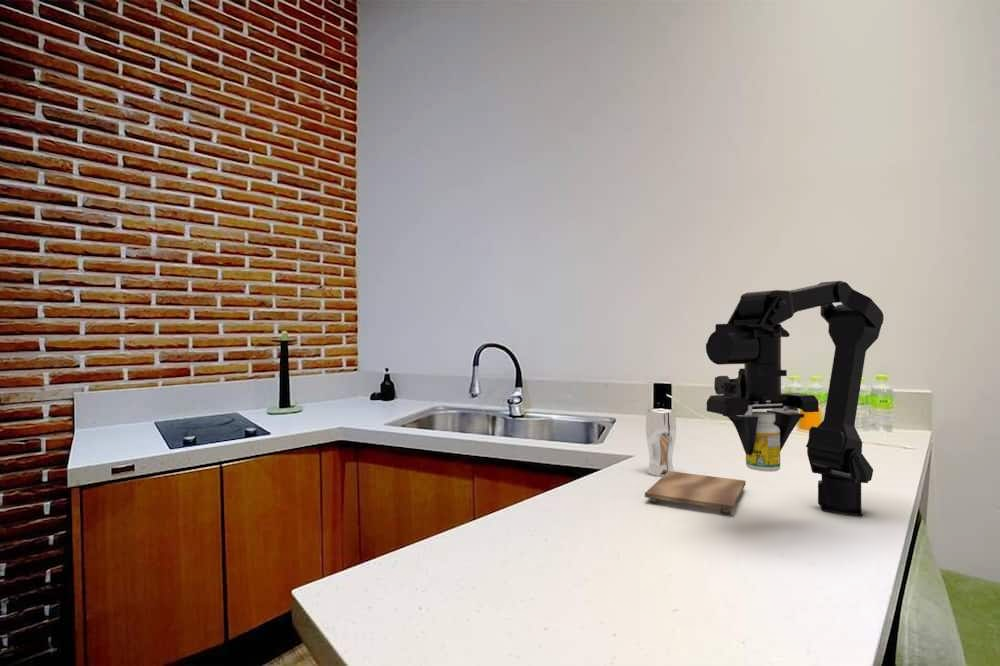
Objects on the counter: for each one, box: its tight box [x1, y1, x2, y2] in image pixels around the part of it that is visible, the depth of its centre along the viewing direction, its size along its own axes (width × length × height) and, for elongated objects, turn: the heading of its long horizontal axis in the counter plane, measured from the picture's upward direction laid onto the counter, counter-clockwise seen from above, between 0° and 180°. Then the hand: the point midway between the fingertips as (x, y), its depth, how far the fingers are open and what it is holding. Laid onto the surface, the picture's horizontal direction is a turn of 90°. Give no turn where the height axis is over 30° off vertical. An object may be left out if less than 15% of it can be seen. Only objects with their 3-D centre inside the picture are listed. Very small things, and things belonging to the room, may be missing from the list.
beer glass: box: [645, 408, 677, 477], centre depth 129 cm, size 7×7×15 cm
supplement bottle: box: [745, 410, 781, 473], centre depth 93 cm, size 5×5×10 cm
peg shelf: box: [644, 471, 747, 516], centre depth 110 cm, size 16×20×2 cm
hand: (762, 453), depth 93 cm, fingers closed on supplement bottle, 5 cm apart
